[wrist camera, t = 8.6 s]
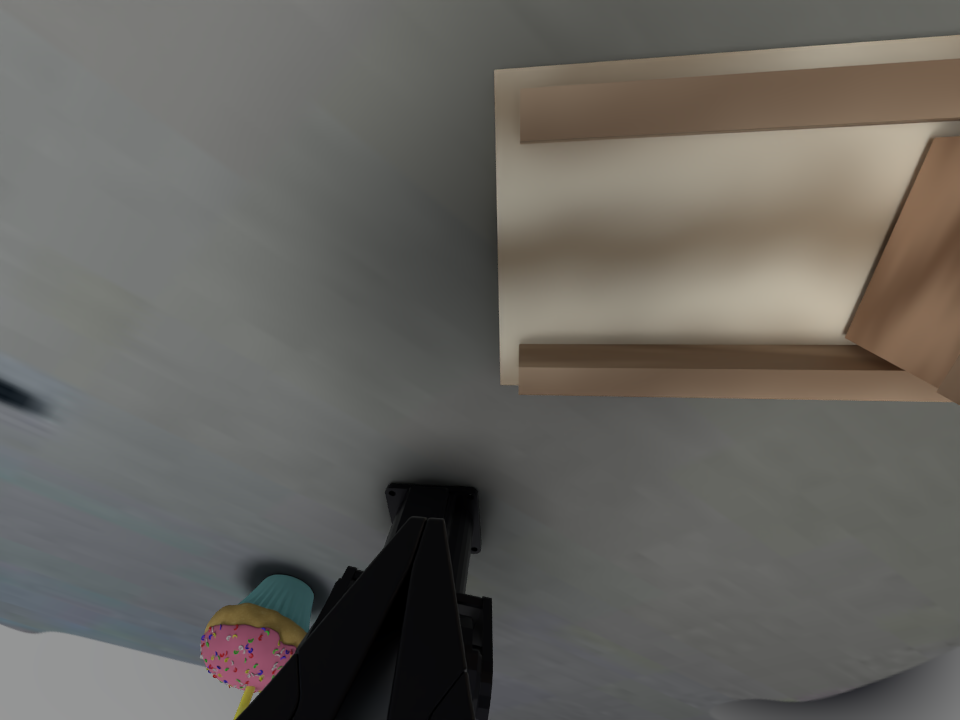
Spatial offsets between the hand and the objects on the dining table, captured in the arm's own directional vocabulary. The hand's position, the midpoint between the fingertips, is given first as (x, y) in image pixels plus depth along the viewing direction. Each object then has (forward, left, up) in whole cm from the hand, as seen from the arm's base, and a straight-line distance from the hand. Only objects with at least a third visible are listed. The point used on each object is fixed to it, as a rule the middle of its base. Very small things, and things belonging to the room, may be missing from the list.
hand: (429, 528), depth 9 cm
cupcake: (-26, +19, -13) cm, 35 cm away
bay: (+4, -16, -13) cm, 21 cm away
